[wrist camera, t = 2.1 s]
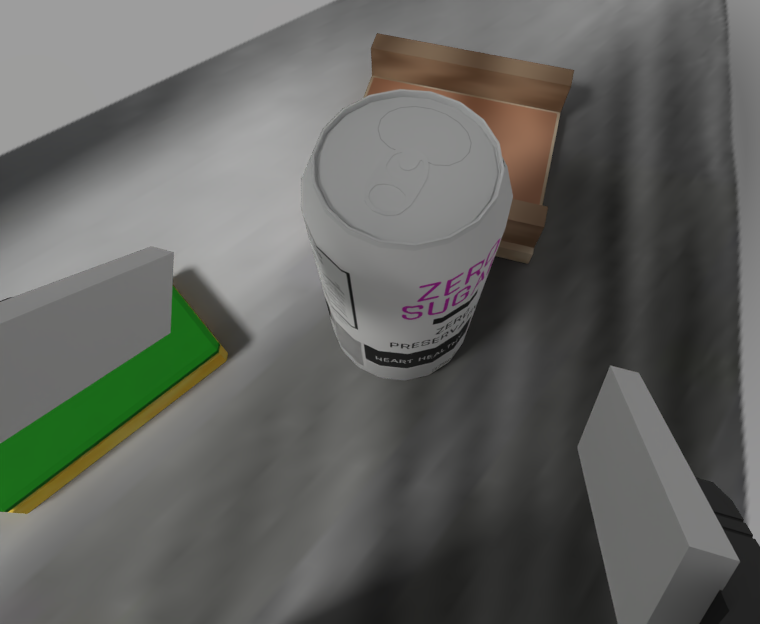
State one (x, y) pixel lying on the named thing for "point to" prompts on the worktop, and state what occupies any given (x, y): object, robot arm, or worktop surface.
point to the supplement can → (404, 226)
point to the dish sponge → (106, 412)
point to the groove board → (490, 115)
